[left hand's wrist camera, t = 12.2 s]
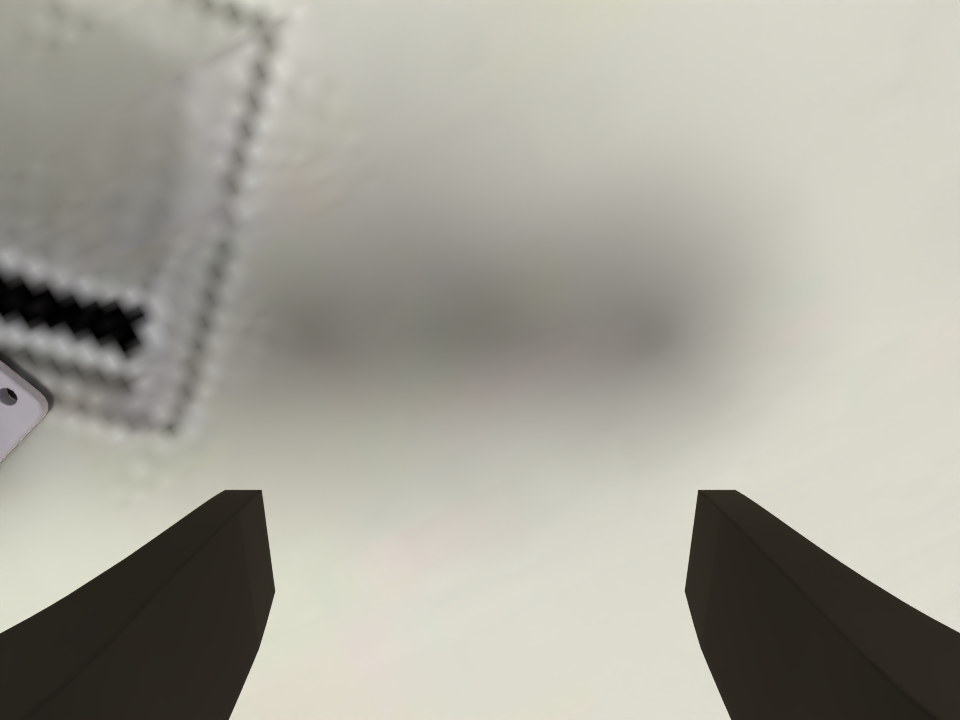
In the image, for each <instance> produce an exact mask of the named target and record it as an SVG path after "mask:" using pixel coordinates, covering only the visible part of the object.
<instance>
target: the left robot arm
mask: <svg viewBox="0 0 960 720" xmlns="http://www.w3.org/2000/svg"><path fill="white" fill-rule="evenodd" d="M7 388H8V389H10V390H12V391H14V393H15V394H16V395H17V399H14V398H12V397H11V396H10V395H9V394H8V392H7ZM47 412H48V402H47V400H46V398H45V397H44V396H43V395H42V394H41V393H40V392H39V391H38V390H37V389H35V388H34V387H33V386H32V385H30V384H29V383H28V382H27V381H25V380H24V379H23V378H22V377H21V376H19V375H18V374H17V373H16V372H14V371H13V370H12V369H11V368H9V367H8V366H7V365H6V364H4V363H3V362H2V361H1V360H0V462H1V461H2V460H3V459H4V458H5V457H6V456H7V455H8V454H9V453H10V452H11V451H12V450H13V449H14V448H15V447H16V446H17V445H18V444H19V443H20V441H21V440H22V439H23V438H24V437H25V436H26V435H27V434H28V433H29V432H30V431H31V430H32V429H33V428H34V427H35V426H36V425H37V424H38V423H39V422H40V421H41V420H42V419H43V418H44V417H45V415H46V414H47ZM274 594H275V586H274V579H273V571H272V564H271V556H270V549H269V541H268V534H267V526H266V519H265V511H264V504H263V496H262V490H224V491H223V492H221V493H219V494H217V495H216V496H214V497H213V498H211V499H210V500H208V501H207V502H205V503H204V504H202V505H201V506H199V507H198V508H197V509H195V510H194V511H192V512H191V513H189V514H188V515H187V516H185V517H184V518H182V519H181V520H180V521H178V522H177V523H175V524H174V525H173V526H171V527H170V528H168V529H167V530H165V531H164V532H163V533H161V534H160V535H158V536H157V537H155V538H154V539H153V540H151V541H150V542H148V543H147V544H145V545H144V546H143V547H141V548H140V549H138V550H137V551H135V552H134V553H132V554H131V555H130V556H128V557H127V558H125V559H124V560H122V561H121V562H119V563H117V564H116V565H114V566H113V567H111V568H110V569H108V570H106V571H105V572H103V573H102V574H100V575H99V576H97V577H96V578H94V579H92V580H91V581H89V582H88V583H86V584H85V585H83V586H82V587H80V588H78V589H77V590H75V591H74V592H72V593H71V594H69V595H68V596H66V597H64V598H63V599H61V600H59V601H58V602H56V603H54V604H53V605H51V606H49V607H47V608H46V609H44V610H42V611H40V612H39V613H37V614H35V615H33V616H32V617H30V618H28V619H26V620H24V621H22V622H21V623H19V624H17V625H15V626H13V627H11V628H10V629H8V630H6V631H4V632H2V633H0V720H229V718H230V716H231V713H232V711H233V709H234V706H235V704H236V702H237V699H238V697H239V695H240V693H241V690H242V688H243V685H244V683H245V681H246V678H247V676H248V674H249V671H250V669H251V667H252V664H253V662H254V659H255V657H256V655H257V652H258V650H259V647H260V644H261V640H262V637H263V633H264V630H265V627H266V623H267V620H268V616H269V612H270V609H271V605H272V601H273V597H274ZM685 594H686V598H687V601H688V605H689V609H690V612H691V616H692V620H693V623H694V627H695V630H696V634H697V637H698V640H699V644H700V647H701V650H702V652H703V655H704V657H705V659H706V662H707V664H708V667H709V669H710V671H711V674H712V676H713V678H714V681H715V683H716V686H717V688H718V690H719V693H720V695H721V697H722V700H723V702H724V704H725V706H726V709H727V711H728V713H729V716H730V718H731V720H960V633H959V632H957V631H955V630H953V629H951V628H949V627H948V626H946V625H944V624H942V623H940V622H938V621H936V620H934V619H933V618H931V617H929V616H927V615H925V614H924V613H922V612H920V611H918V610H917V609H915V608H913V607H911V606H910V605H908V604H906V603H905V602H903V601H901V600H900V599H898V598H896V597H895V596H893V595H892V594H890V593H888V592H887V591H885V590H884V589H882V588H880V587H879V586H877V585H875V584H874V583H872V582H871V581H869V580H867V579H866V578H864V577H863V576H861V575H860V574H858V573H856V572H855V571H853V570H852V569H850V568H849V567H847V566H846V565H844V564H843V563H841V562H840V561H838V560H837V559H835V558H834V557H832V556H831V555H829V554H828V553H826V552H825V551H824V550H822V549H821V548H819V547H818V546H816V545H815V544H813V543H812V542H811V541H809V540H808V539H806V538H805V537H803V536H802V535H801V534H799V533H798V532H796V531H795V530H794V529H792V528H791V527H789V526H788V525H786V524H785V523H784V522H782V521H781V520H779V519H778V518H777V517H775V516H774V515H772V514H771V513H770V512H768V511H767V510H765V509H764V508H762V507H761V506H760V505H758V504H757V503H755V502H754V501H752V500H751V499H749V498H748V497H746V496H745V495H743V494H741V493H740V492H738V491H736V490H698V496H697V504H696V511H695V519H694V526H693V534H692V541H691V549H690V556H689V564H688V571H687V579H686V586H685Z"/></svg>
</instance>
